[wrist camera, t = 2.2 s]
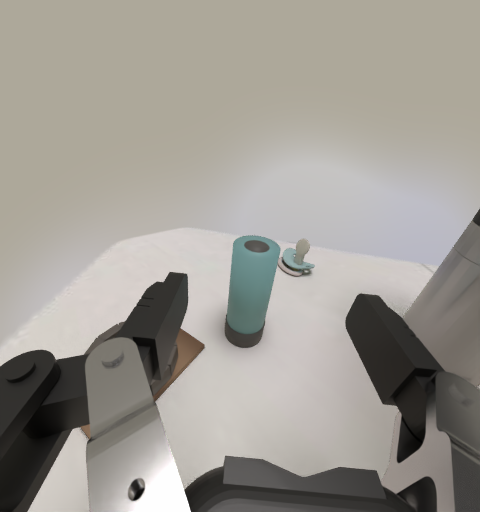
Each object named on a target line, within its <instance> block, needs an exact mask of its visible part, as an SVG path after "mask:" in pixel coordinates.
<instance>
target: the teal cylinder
mask: <svg viewBox="0 0 480 512" xmlns="http://www.w3.org/2000/svg"><path fill="white" fill-rule="evenodd" d="M279 255H280V247H279V245H278V244H277V243H276V242H274V241H272V240H270V239H268V238H265V237H261V236H243V237H240V238H238V239H236V240H235V241H234V243H233V254H232V265H231V276H230V287H229V298H228V309H227V315H226V323H225V335H226V337H227V339H228V340H229V341H230V342H231V343H232V344H234V345H235V346H238V347H242V348H248V347H252V346H254V345H256V344H257V343H258V342H259V341H260V340H261V337H262V333H263V329H264V325H265V317H266V312H267V308H268V303H269V299H270V294H271V290H272V286H273V281H274V277H275V272H276V268H277V263H278V259H279Z"/></svg>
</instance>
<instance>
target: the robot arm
mask: <svg viewBox="0 0 480 512" xmlns="http://www.w3.org/2000/svg"><path fill="white" fill-rule="evenodd" d="M187 305H188V277H187V274H184V273H175V272H170V273H169V274H168V276H167V277H166V279H165V281H164V282H156V283H154V284H153V285H151V286H150V287H149V288H147V290H146V291H145V293H144V294H143V296H142V297H141V299H140V300H139V302H138V303H137V306H135V308H134V309H133V311H132V312H131V314H130V315H129V317H128V318H127V320H126V321H125V323H124V324H123V326H122V327H121V329H120V330H119V332H118V333H117V335H116V336H115V338H113V339H110V340H108V341H105V342H103V343H102V344H100V345H99V346H97V347H96V348H95V349H94V350H93V351H92V352H91V353H89V354H85V355H80V356H75V357H69V358H64V359H58V360H56V359H55V357H54V355H53V354H52V353H51V352H49V351H46V350H35V351H30V352H26V353H23V354H21V355H18V356H16V357H14V358H12V359H11V360H9V361H7V362H6V363H4V364H3V365H2V366H0V512H27V511H28V509H29V508H30V506H31V504H32V502H33V500H34V498H35V497H36V495H37V493H38V491H39V489H40V488H41V486H42V484H43V482H44V480H45V478H46V477H47V475H48V473H49V471H50V469H51V467H52V466H53V464H54V462H55V460H56V458H57V456H58V455H59V453H60V451H61V449H62V447H63V446H64V444H65V442H66V440H67V438H68V436H69V435H70V433H71V431H72V429H74V428H77V427H81V426H85V425H89V424H90V440H89V441H88V442H87V447H86V463H87V478H88V493H89V508H90V512H480V390H479V389H478V388H477V387H476V386H478V385H479V384H480V209H479V211H478V212H477V214H476V215H475V217H474V218H473V220H472V221H471V223H470V224H469V225H468V227H467V229H466V230H465V231H464V232H463V234H462V235H461V237H460V238H459V239H458V241H457V242H456V244H455V245H454V247H453V248H452V250H451V251H450V253H449V254H448V255H447V257H446V258H445V260H444V261H443V262H442V264H441V265H440V266H439V268H438V269H437V271H436V272H435V273H434V275H433V276H432V278H431V279H430V280H429V282H428V283H427V285H426V286H425V287H424V289H423V290H422V292H421V293H420V294H419V296H418V297H417V299H416V300H415V301H414V303H413V304H412V306H411V307H410V308H409V310H408V311H407V312H406V314H405V315H404V317H403V318H401V317H400V316H399V315H398V314H397V313H395V312H394V311H393V310H392V309H390V308H388V306H387V305H386V304H385V302H384V301H383V300H382V299H381V298H380V297H379V296H377V295H369V294H359V295H357V297H356V299H355V301H354V303H353V305H352V307H351V309H350V311H349V313H348V315H347V317H346V322H345V323H346V329H347V332H348V334H349V336H350V338H351V340H352V342H353V344H354V346H355V348H356V350H357V352H358V354H359V356H360V358H361V360H362V362H363V364H364V366H365V369H366V371H367V373H368V375H369V377H370V379H371V381H372V383H373V385H374V387H375V389H376V391H377V393H378V395H379V397H380V399H381V401H382V403H383V404H385V405H395V406H397V407H398V409H399V412H398V413H397V415H396V418H395V425H394V432H393V439H392V446H391V453H390V460H389V465H388V468H387V471H386V473H385V474H384V476H383V478H382V480H381V482H380V479H379V476H378V474H377V471H375V470H365V469H355V468H345V467H338V468H335V469H331V470H328V471H325V472H321V473H318V474H315V475H311V476H308V477H301V476H298V475H296V474H294V473H292V472H289V471H287V470H285V469H283V468H280V467H278V466H276V465H274V464H272V463H269V462H267V461H265V460H263V459H253V458H243V457H233V456H225V460H224V465H223V466H222V467H219V468H215V469H213V470H211V471H209V472H207V473H205V474H203V475H202V476H200V477H199V478H197V479H196V480H195V481H194V482H192V483H191V484H190V485H189V486H188V487H187V488H186V489H185V490H184V489H183V486H182V483H181V480H180V477H179V474H178V470H177V467H176V464H175V461H174V458H173V455H172V451H171V448H170V445H169V442H168V439H167V436H166V433H165V429H164V426H163V423H162V420H161V417H160V414H159V411H158V408H157V405H156V403H155V402H154V399H153V396H152V393H151V390H150V385H151V382H152V380H162V377H163V374H164V372H165V369H166V366H167V363H168V361H169V358H170V355H171V352H172V350H173V347H174V344H175V341H176V338H177V336H178V333H179V330H180V327H181V325H182V322H183V319H184V316H185V313H186V310H187Z"/></svg>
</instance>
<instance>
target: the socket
mask: <svg viewBox="0 0 480 512" xmlns="http://www.w3.org/2000/svg"><path fill="white" fill-rule="evenodd" d="M124 323H125V322H121V323H119V325H118V324H116V325H115V326H113V327H112V328H110V329H109V330H107V331H105V332H104V333H102V334H101V335H99V336H98V338H96V339H95V340H94V342H93V343H92V345H91V346H90V347H89V349H88V350H87V351H86V353H85V354H89V353H91V352H92V351H93V350H94V349H95V348H96V347H97V346H99V345H100V344H102V343H103V342H105V341H108V340H110V339H113V338H115V336H116V335H117V333H118V332H119V330H120V329H121V327H122V326H123V324H124ZM203 349H204V344H203V343H201V342H200V341H198V340H197V339H195V338H194V337H192V336H191V335H190V334H188V333H187V332H185V331H184V330H182V329H181V328H180V330H179V333H178V336H177V338H176V341H175V344H174V347H173V350H172V352H171V355H170V358H169V361H168V363H167V366H166V369H165V372H164V374H163V377H162V380H152V382H151V385H150V390H151V393H152V396H153V399H154V402H155V401H156V400H157V399H158V398H159V397H160V396H161V394H162V393H163V392H164V391H165V390H166V389H167V388H168V387H169V386H170V385H171V384H172V383H173V381H174V380H175V379H176V378H177V377H178V376H179V375H180V374H181V373H182V372H183V371H184V370H185V368H186V367H187V366H188V365H189V364H190V363H191V362H192V361H193V360H194V359H195V358H196V356H197V355H198V354H199V353H200V352H201V351H202V350H203ZM85 354H84V355H85ZM81 429H82V430H83V431H84V433H85V434H86V435H87V436H88V438H89V439H90V424H89V425H85V426H81Z"/></svg>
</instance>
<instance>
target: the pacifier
mask: <svg viewBox="0 0 480 512" xmlns="http://www.w3.org/2000/svg"><path fill="white" fill-rule="evenodd" d="M309 248H310V244H309V242H308V241H307V240H306V239H301V240H300V241H299V242H298V243H297V245H296V250H295V249H292V248H288V249H286V250H285V251H284V252H283V257H281V258H279V259H278V265H279V266H280V268H281V269H282V270H284V271H285V272H287V273H289V274H291V275H295V276H300V275H302V273H303V269H311V268H314V267H315V265H313V264H310V263H306V262H303V259H304V256H305V254H306V253H307V252H308V251H309ZM293 255H296V256H295V257H294V256H293ZM282 261H284V262H285V263H286V264H287V265H288V266H290V267H291V268H292V269H293V270H295V271H292V270H290V269H288V268H286V267H285V266H284V265H283V263H282Z"/></svg>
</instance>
